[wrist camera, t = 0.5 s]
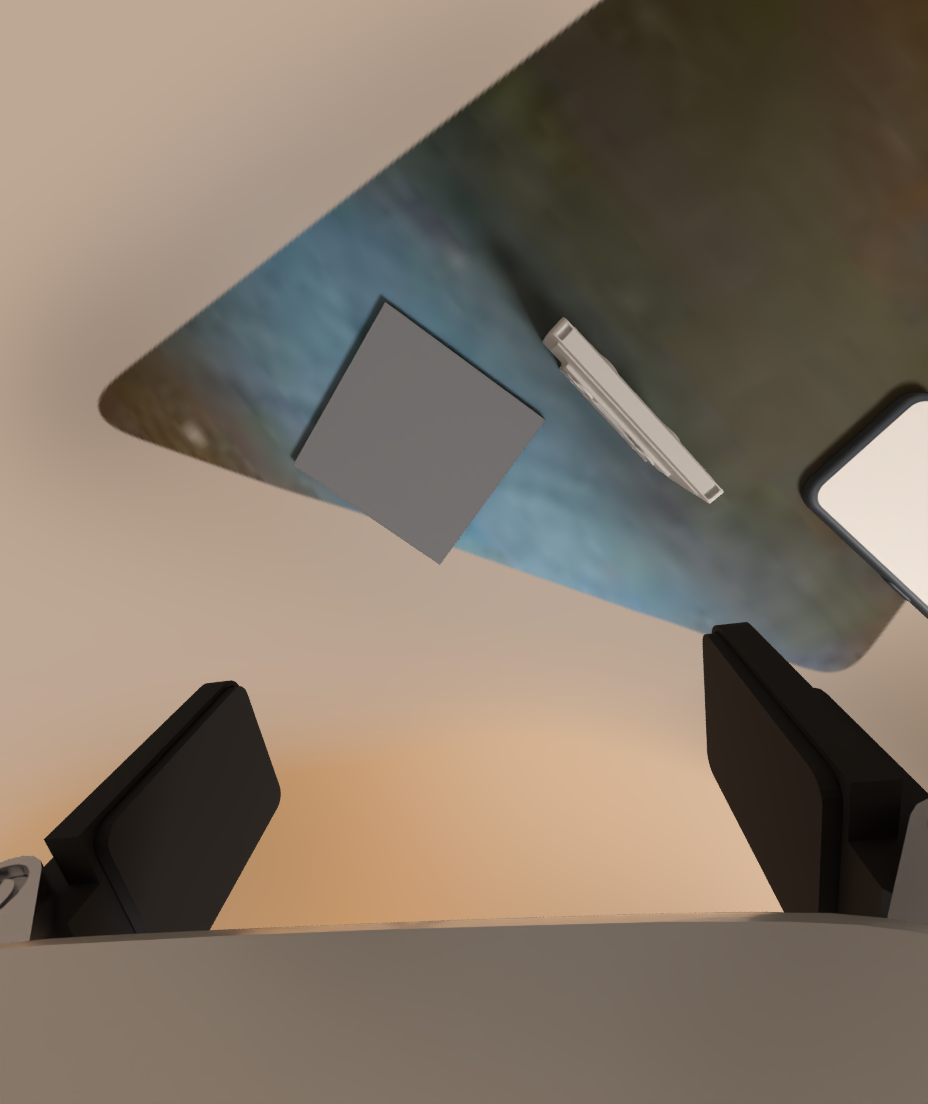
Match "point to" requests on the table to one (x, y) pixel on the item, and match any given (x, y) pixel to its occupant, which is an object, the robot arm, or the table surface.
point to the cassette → (627, 410)
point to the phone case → (882, 496)
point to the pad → (416, 436)
